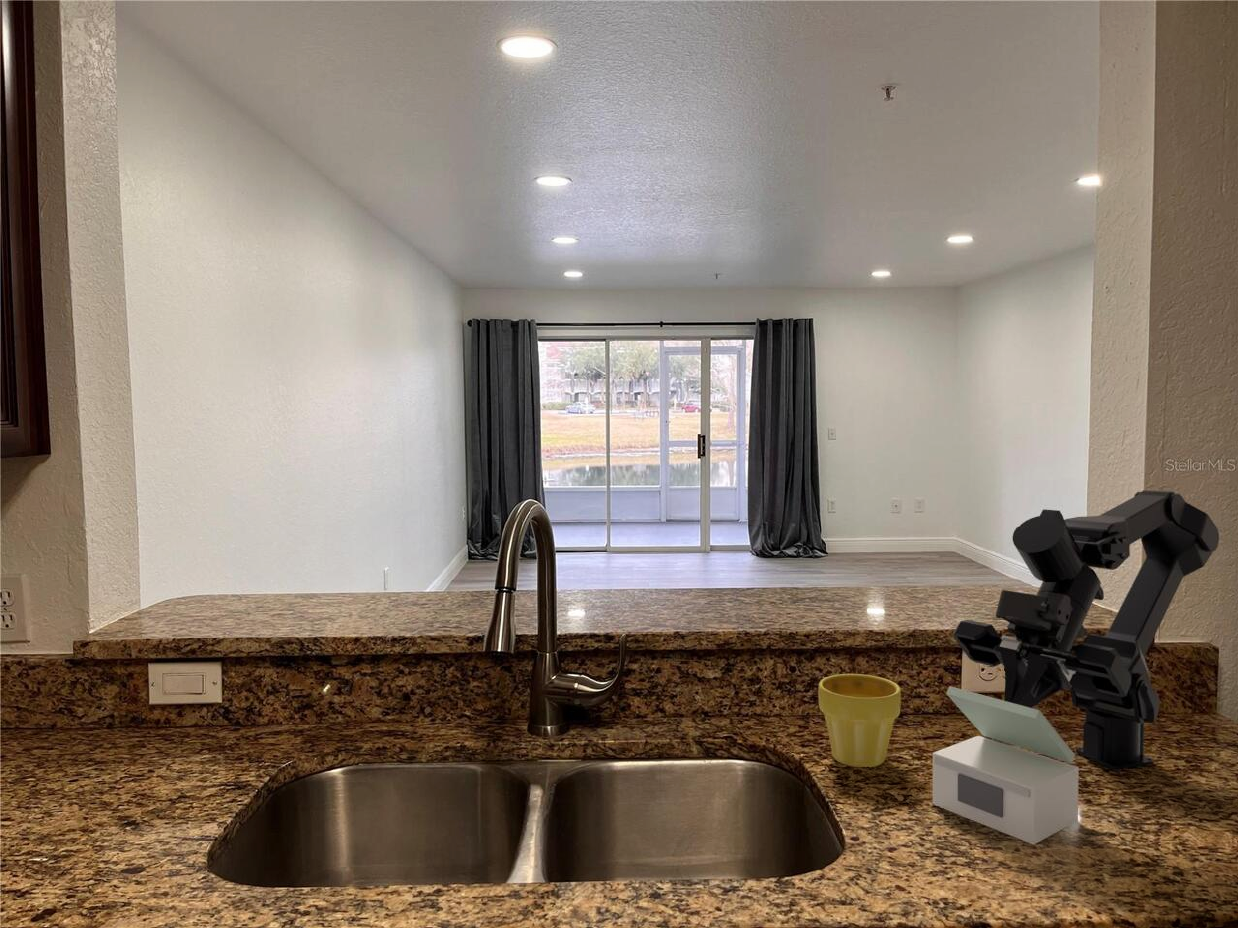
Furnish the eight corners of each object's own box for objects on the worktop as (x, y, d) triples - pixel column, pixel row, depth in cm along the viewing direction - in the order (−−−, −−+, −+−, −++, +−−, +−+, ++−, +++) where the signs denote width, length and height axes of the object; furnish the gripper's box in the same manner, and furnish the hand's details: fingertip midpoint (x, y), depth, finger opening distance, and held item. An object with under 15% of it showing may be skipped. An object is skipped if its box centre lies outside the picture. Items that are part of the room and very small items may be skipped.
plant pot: (905, 776, 107) (905, 699, 107) (819, 771, 109) (819, 695, 109) (896, 746, 118) (896, 674, 117) (817, 741, 120) (817, 671, 119)
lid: (983, 735, 104) (989, 722, 105) (1072, 763, 95) (1077, 748, 96) (946, 693, 99) (952, 679, 100) (1035, 718, 91) (1041, 703, 91)
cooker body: (977, 784, 105) (978, 735, 105) (1077, 820, 95) (1078, 766, 95) (930, 804, 99) (931, 753, 99) (1032, 845, 90) (1032, 788, 89)
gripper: (961, 554, 107) (906, 658, 101) (1120, 574, 92) (1065, 698, 86) (997, 608, 112) (946, 710, 106) (1153, 636, 97) (1103, 756, 91)
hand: (1008, 717), depth 97 cm, fingers closed, pressing on lid
